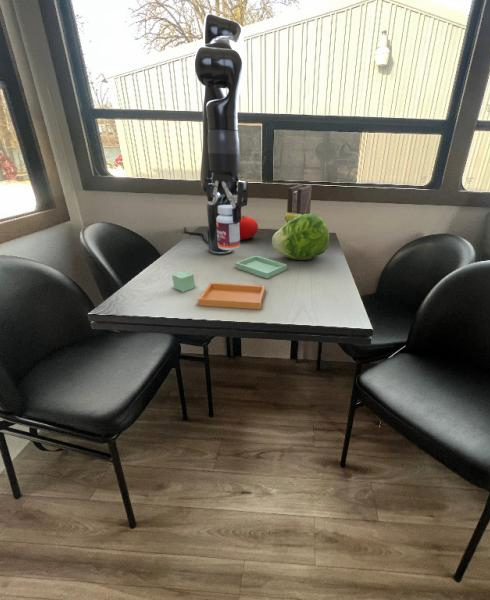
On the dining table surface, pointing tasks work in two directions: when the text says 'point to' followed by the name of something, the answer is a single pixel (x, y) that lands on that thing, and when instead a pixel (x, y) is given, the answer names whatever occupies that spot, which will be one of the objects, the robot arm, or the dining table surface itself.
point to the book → (298, 201)
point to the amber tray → (232, 296)
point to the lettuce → (302, 237)
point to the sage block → (183, 281)
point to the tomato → (247, 227)
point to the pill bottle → (227, 229)
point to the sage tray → (261, 266)
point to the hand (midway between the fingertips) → (227, 220)
